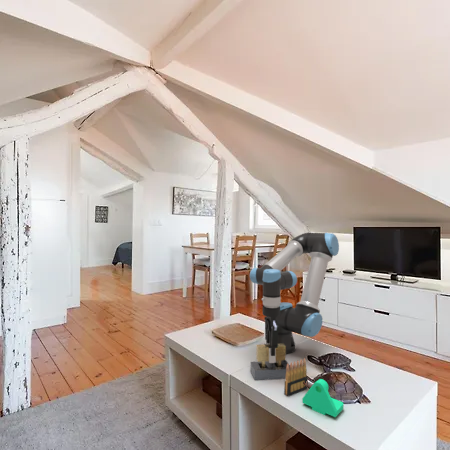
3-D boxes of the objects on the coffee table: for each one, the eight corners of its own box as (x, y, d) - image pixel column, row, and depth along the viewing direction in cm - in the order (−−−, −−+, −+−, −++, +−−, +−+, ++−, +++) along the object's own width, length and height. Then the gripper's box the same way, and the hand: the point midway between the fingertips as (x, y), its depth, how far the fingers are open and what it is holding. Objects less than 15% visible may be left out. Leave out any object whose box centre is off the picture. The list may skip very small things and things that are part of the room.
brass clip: (283, 368, 133) (283, 343, 133) (285, 372, 130) (285, 346, 130) (256, 370, 131) (256, 344, 131) (257, 373, 128) (258, 347, 128)
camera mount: (344, 410, 106) (344, 380, 106) (335, 420, 100) (335, 389, 100) (312, 396, 114) (312, 369, 114) (302, 405, 108) (302, 376, 108)
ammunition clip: (287, 397, 114) (287, 364, 114) (284, 394, 115) (284, 362, 115) (307, 389, 119) (308, 358, 119) (304, 386, 121) (304, 356, 121)
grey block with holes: (285, 369, 135) (285, 360, 135) (292, 378, 127) (292, 368, 127) (250, 371, 133) (250, 361, 133) (254, 380, 125) (254, 370, 125)
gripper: (258, 301, 138) (257, 353, 138) (267, 311, 122) (267, 369, 122) (274, 300, 139) (274, 352, 139) (286, 310, 123) (285, 368, 123)
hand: (270, 360), depth 130 cm, fingers closed on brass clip, 3 cm apart
